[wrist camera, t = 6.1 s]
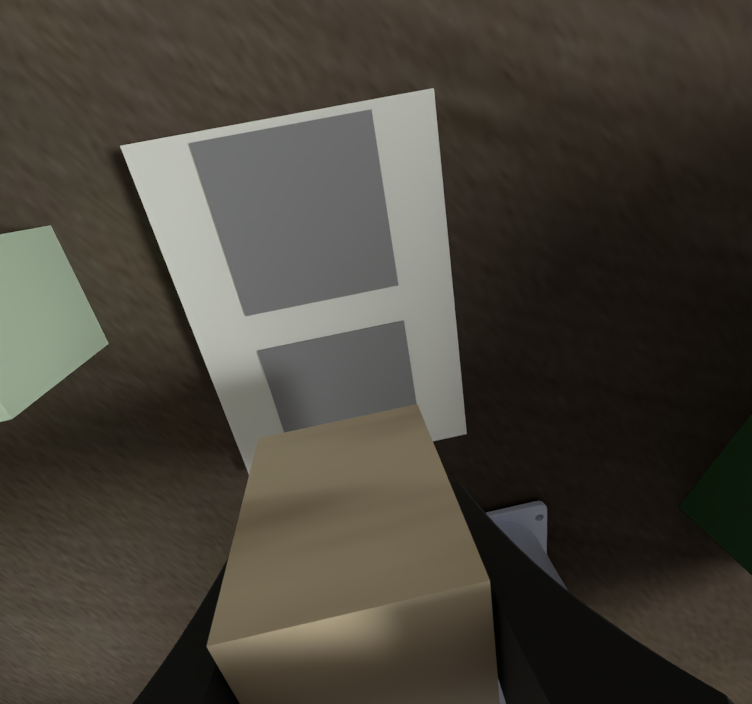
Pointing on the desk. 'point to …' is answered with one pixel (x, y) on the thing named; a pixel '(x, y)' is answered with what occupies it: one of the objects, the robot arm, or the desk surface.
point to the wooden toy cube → (354, 574)
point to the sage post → (40, 319)
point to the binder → (727, 498)
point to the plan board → (313, 263)
